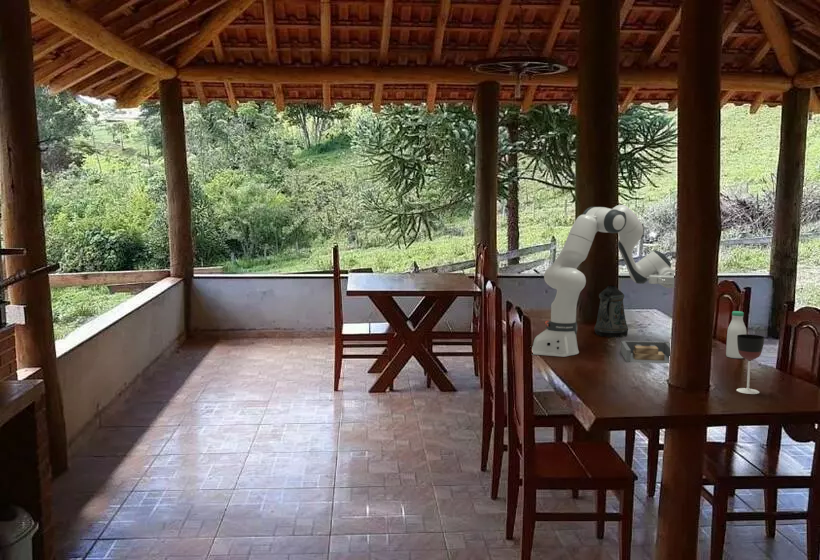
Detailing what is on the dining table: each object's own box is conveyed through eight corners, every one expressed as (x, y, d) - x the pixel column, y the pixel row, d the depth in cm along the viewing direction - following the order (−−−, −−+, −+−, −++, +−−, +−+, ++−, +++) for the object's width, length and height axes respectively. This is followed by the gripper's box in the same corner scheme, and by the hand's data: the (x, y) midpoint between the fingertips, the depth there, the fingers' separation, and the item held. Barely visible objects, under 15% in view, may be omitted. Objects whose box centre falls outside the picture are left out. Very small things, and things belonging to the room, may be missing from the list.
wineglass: (764, 394, 246) (767, 339, 243) (738, 393, 247) (740, 338, 245) (757, 388, 253) (760, 334, 251) (731, 387, 255) (734, 334, 252)
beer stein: (625, 331, 360) (627, 284, 357) (630, 339, 341) (632, 289, 338) (592, 330, 363) (594, 283, 360) (596, 338, 344) (597, 288, 341)
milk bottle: (747, 359, 299) (749, 313, 296) (728, 358, 300) (730, 312, 298) (742, 355, 306) (745, 310, 304) (724, 354, 308) (726, 310, 305)
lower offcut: (634, 359, 293) (634, 353, 293) (632, 356, 299) (632, 350, 299) (664, 360, 291) (664, 354, 291) (661, 357, 297) (662, 351, 297)
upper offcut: (635, 353, 293) (636, 348, 293) (634, 351, 298) (634, 345, 298) (658, 354, 292) (658, 348, 291) (656, 351, 297) (656, 346, 296)
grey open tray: (626, 365, 289) (626, 350, 288) (620, 354, 308) (620, 340, 307) (676, 367, 286) (677, 351, 285) (667, 356, 305) (668, 341, 304)
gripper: (646, 271, 325) (650, 274, 311) (692, 272, 321) (699, 275, 308) (645, 284, 326) (650, 287, 312) (691, 286, 322) (698, 289, 309)
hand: (674, 281), depth 310 cm, fingers open, 8 cm apart
